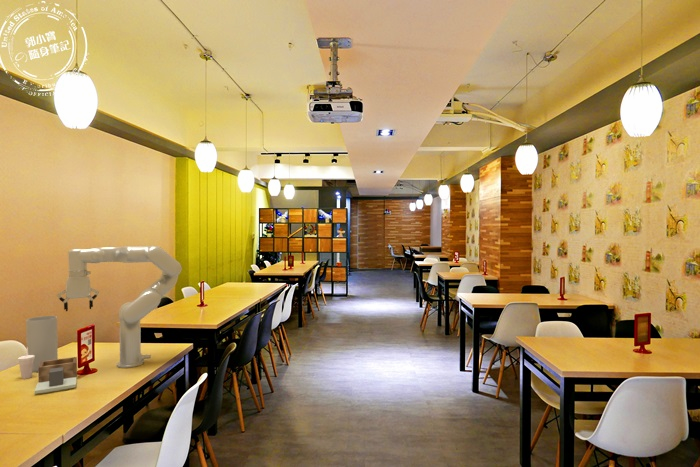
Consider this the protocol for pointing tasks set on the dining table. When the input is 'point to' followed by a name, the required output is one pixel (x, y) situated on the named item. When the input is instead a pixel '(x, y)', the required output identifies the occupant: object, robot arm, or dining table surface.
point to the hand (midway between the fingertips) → (78, 309)
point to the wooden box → (66, 363)
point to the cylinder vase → (42, 339)
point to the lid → (56, 382)
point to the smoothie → (26, 365)
